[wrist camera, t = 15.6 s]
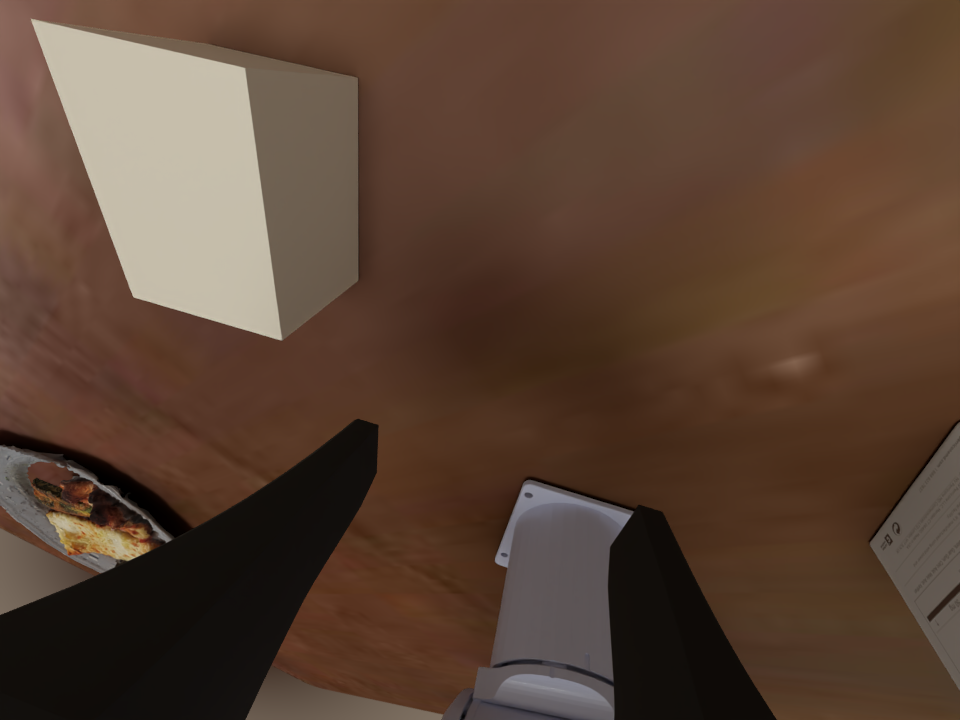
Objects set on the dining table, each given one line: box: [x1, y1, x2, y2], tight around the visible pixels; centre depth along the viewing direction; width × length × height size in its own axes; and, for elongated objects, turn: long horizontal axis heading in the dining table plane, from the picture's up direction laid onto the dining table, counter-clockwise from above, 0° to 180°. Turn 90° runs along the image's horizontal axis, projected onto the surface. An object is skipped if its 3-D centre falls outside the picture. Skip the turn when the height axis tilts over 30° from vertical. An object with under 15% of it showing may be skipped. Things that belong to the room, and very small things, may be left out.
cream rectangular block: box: [31, 19, 358, 340], centre depth 15 cm, size 8×6×6 cm
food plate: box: [0, 445, 174, 573], centre depth 42 cm, size 25×23×4 cm
